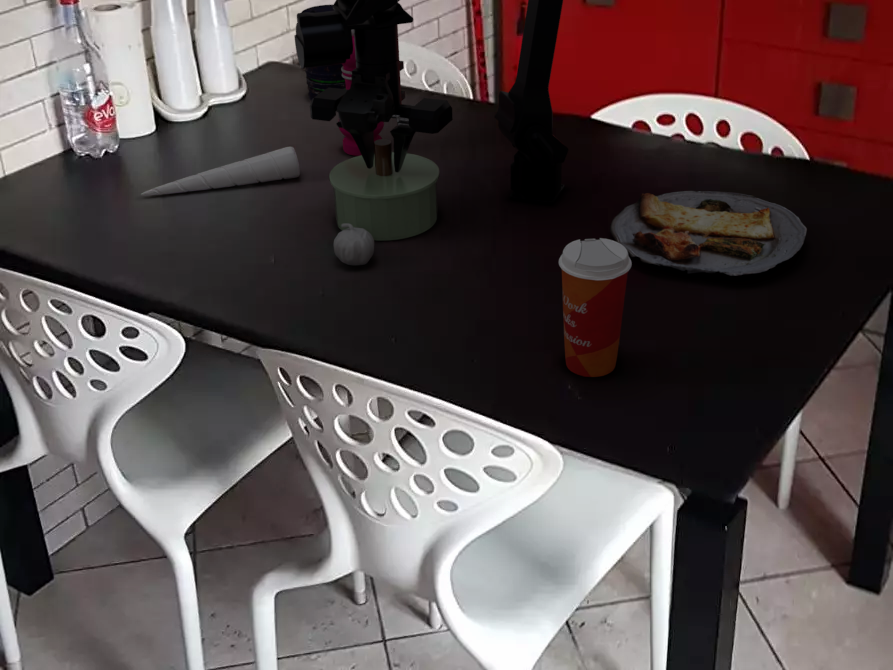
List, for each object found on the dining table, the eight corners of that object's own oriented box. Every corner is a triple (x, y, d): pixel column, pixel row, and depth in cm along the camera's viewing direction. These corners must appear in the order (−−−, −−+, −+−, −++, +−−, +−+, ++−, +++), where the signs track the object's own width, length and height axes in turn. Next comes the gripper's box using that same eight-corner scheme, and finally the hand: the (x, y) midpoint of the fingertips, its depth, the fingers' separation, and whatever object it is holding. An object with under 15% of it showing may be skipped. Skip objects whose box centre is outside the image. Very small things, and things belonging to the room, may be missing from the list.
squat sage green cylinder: (452, 205, 167) (451, 163, 164) (413, 247, 156) (411, 203, 153) (363, 192, 172) (360, 151, 169) (318, 232, 161) (315, 189, 158)
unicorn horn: (140, 187, 176) (135, 158, 173) (297, 170, 180) (295, 141, 178) (141, 200, 172) (135, 170, 169) (301, 182, 176) (298, 152, 174)
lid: (455, 166, 165) (454, 129, 162) (413, 209, 153) (411, 169, 150) (359, 154, 170) (356, 117, 167) (310, 194, 158) (306, 155, 155)
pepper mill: (379, 158, 183) (371, 32, 173) (334, 156, 184) (324, 31, 174) (390, 142, 189) (383, 19, 179) (347, 139, 190) (338, 17, 180)
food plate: (590, 267, 150) (591, 243, 148) (633, 196, 168) (635, 174, 166) (790, 297, 141) (793, 272, 140) (812, 219, 160) (816, 196, 158)
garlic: (326, 257, 154) (323, 222, 151) (363, 247, 156) (360, 212, 154) (346, 275, 150) (343, 239, 147) (383, 265, 152) (381, 229, 149)
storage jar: (369, 87, 213) (364, 5, 205) (353, 105, 204) (347, 21, 197) (317, 84, 215) (310, 3, 207) (299, 102, 207) (291, 18, 199)
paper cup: (551, 348, 133) (553, 237, 126) (617, 343, 133) (623, 233, 126) (562, 385, 126) (565, 271, 119) (632, 380, 127) (639, 266, 120)
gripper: (284, 70, 149) (296, 183, 157) (418, 84, 143) (423, 201, 151) (324, 45, 158) (333, 153, 166) (452, 57, 152) (455, 169, 160)
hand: (384, 169), depth 160 cm, fingers open, 4 cm apart
